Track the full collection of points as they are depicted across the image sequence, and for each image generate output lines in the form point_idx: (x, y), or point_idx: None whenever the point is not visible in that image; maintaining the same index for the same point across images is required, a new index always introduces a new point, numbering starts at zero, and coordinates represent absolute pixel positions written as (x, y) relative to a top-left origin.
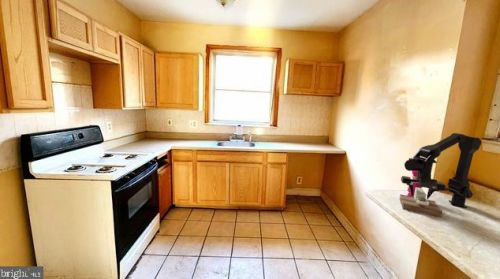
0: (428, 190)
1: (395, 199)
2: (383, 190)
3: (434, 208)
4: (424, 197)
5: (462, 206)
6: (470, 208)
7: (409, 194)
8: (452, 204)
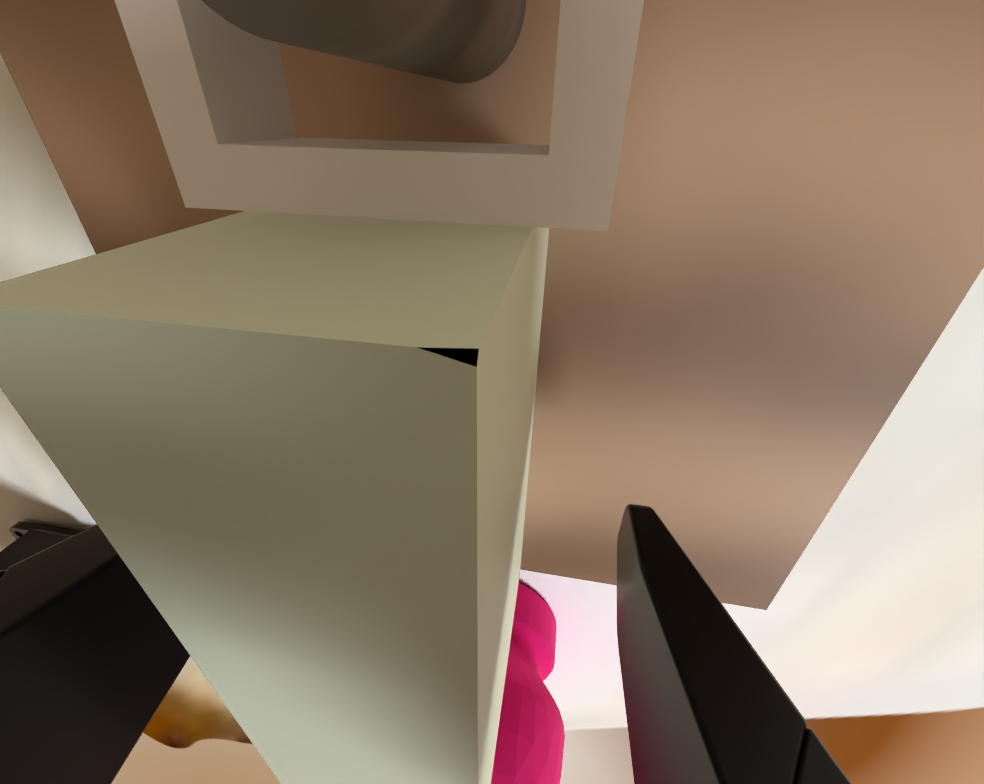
0: (100, 771)
1: None
2: (851, 703)
3: (133, 71)
4: (228, 242)
5: (34, 529)
6: (5, 526)
7: (540, 647)
8: None
